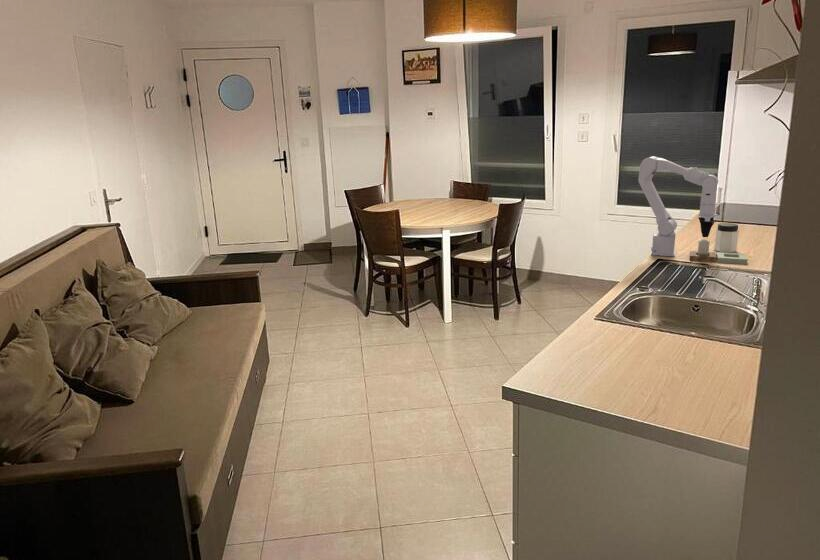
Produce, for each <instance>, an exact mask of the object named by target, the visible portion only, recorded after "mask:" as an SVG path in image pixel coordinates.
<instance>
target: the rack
mask: <svg viewBox="0 0 820 560" xmlns="http://www.w3.org/2000/svg"><path fill="white" fill-rule="evenodd" d="M715 254H716V262H717V263H722V264H736V265H737V264H739V265H740V264H741V265H747V264H748V257H747V256H746V253H740V252H739V253H736V252H731V253H727V252H718V251H715Z"/></svg>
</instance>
